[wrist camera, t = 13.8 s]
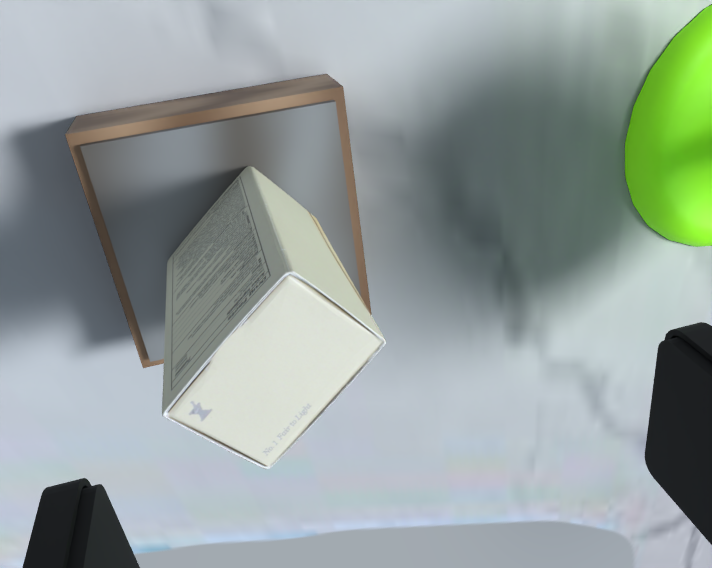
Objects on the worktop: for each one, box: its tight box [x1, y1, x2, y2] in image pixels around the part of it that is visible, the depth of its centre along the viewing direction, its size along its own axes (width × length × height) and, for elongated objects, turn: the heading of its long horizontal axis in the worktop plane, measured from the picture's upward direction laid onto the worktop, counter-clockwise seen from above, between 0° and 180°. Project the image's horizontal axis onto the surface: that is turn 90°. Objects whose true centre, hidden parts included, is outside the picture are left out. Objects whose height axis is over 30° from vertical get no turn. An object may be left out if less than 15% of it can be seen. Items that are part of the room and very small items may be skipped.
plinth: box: [65, 74, 371, 368], centre depth 32 cm, size 12×12×4 cm
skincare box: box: [162, 166, 386, 469], centre depth 25 cm, size 6×4×12 cm
